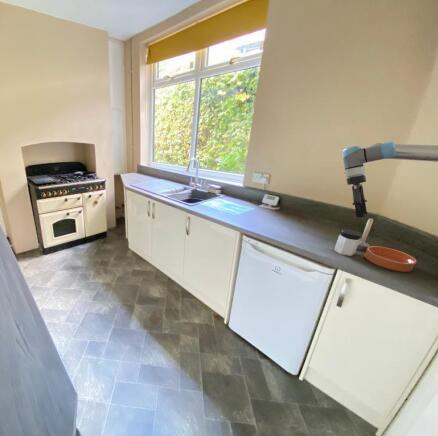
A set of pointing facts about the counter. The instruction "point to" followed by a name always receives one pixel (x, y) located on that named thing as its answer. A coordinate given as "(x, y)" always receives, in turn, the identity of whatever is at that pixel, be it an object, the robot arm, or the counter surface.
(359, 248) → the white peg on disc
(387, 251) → the bowl
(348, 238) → the jar
